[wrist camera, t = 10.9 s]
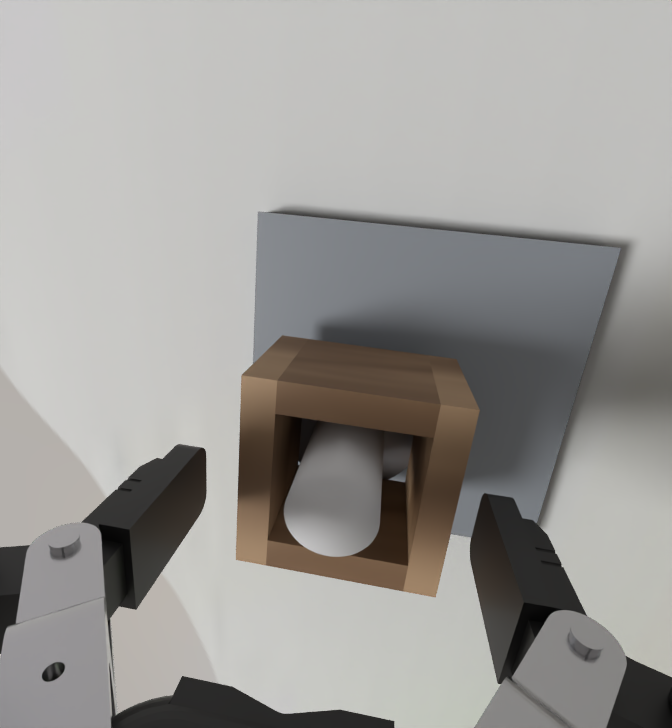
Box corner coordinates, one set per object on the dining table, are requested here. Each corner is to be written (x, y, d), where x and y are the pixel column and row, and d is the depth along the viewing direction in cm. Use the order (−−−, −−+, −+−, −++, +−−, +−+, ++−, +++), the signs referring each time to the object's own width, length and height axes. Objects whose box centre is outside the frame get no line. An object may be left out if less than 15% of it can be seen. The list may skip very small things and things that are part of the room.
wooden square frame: (282, 335, 16) (241, 374, 11) (456, 358, 15) (479, 410, 11) (273, 481, 18) (235, 559, 14) (425, 506, 17) (435, 597, 13)
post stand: (267, 212, 17) (159, 201, 9) (604, 246, 16) (808, 267, 8) (256, 485, 21) (177, 635, 13) (522, 528, 20) (602, 721, 12)
